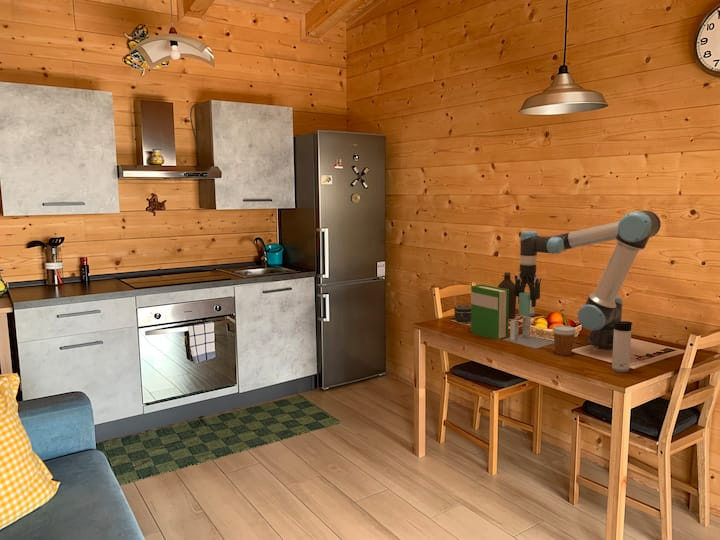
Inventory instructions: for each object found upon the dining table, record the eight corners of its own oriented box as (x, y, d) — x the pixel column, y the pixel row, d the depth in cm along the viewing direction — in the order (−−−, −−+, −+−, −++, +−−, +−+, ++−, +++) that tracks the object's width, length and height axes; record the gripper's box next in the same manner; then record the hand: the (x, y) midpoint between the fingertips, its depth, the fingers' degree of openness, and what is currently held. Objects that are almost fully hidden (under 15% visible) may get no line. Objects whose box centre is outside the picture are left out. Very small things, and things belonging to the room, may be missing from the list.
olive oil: (502, 319, 307) (503, 274, 303) (493, 315, 317) (494, 271, 313) (519, 318, 309) (521, 273, 305) (510, 313, 319) (511, 270, 316)
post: (520, 340, 264) (521, 320, 263) (514, 342, 262) (515, 322, 260) (513, 338, 268) (513, 318, 266) (507, 340, 265) (507, 320, 264)
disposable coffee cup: (564, 350, 250) (565, 324, 249) (579, 356, 242) (581, 329, 240) (547, 353, 247) (547, 326, 245) (562, 359, 238) (563, 331, 236)
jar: (453, 322, 304) (453, 308, 303) (455, 317, 313) (455, 304, 312) (471, 323, 301) (471, 309, 300) (473, 318, 310) (473, 305, 309)
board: (556, 343, 260) (556, 342, 260) (536, 350, 251) (536, 348, 251) (522, 335, 275) (522, 333, 275) (502, 341, 267) (502, 339, 266)
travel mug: (624, 373, 219) (627, 324, 216) (608, 369, 224) (611, 320, 221) (633, 370, 223) (635, 321, 220) (617, 366, 228) (619, 318, 225)
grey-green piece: (527, 316, 265) (528, 294, 263) (518, 314, 269) (519, 292, 267) (534, 314, 268) (535, 293, 266) (525, 313, 272) (526, 291, 270)
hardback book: (508, 338, 271) (509, 289, 267) (497, 341, 267) (498, 291, 263) (481, 330, 286) (482, 284, 282) (470, 333, 282) (471, 286, 278)
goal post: (532, 337, 269) (533, 317, 268) (527, 338, 267) (527, 319, 265) (525, 335, 273) (525, 315, 271) (519, 336, 270) (519, 317, 269)
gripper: (549, 265, 259) (547, 314, 263) (517, 261, 274) (516, 307, 277) (539, 267, 255) (537, 316, 259) (507, 262, 269) (506, 309, 273)
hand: (526, 312), depth 268 cm, fingers closed on grey-green piece, 5 cm apart
